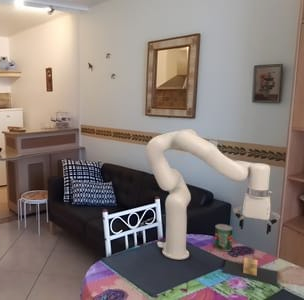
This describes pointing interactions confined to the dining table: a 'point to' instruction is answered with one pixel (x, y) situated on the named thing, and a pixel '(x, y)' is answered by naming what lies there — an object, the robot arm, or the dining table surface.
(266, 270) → the mat
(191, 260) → the dining table surface
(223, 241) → the canned tomato
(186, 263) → the dining table surface
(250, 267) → the block
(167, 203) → the robot arm
